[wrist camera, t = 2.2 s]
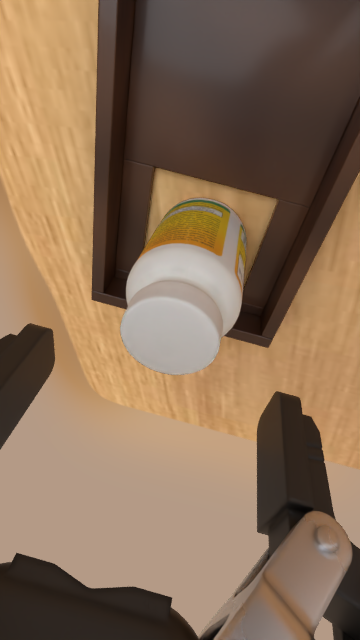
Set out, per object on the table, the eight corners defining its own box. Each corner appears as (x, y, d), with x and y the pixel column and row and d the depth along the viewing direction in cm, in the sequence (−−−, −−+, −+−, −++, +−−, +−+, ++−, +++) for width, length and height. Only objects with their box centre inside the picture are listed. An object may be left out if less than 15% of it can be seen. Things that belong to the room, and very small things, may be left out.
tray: (126, -122, 12) (101, -156, 10) (445, -45, 12) (482, -66, 10) (104, 280, 24) (91, 300, 22) (267, 324, 23) (268, 348, 21)
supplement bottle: (264, 245, 20) (268, 356, 12) (198, 290, 23) (169, 402, 15) (206, 173, 18) (169, 253, 11) (142, 232, 21) (77, 328, 13)
